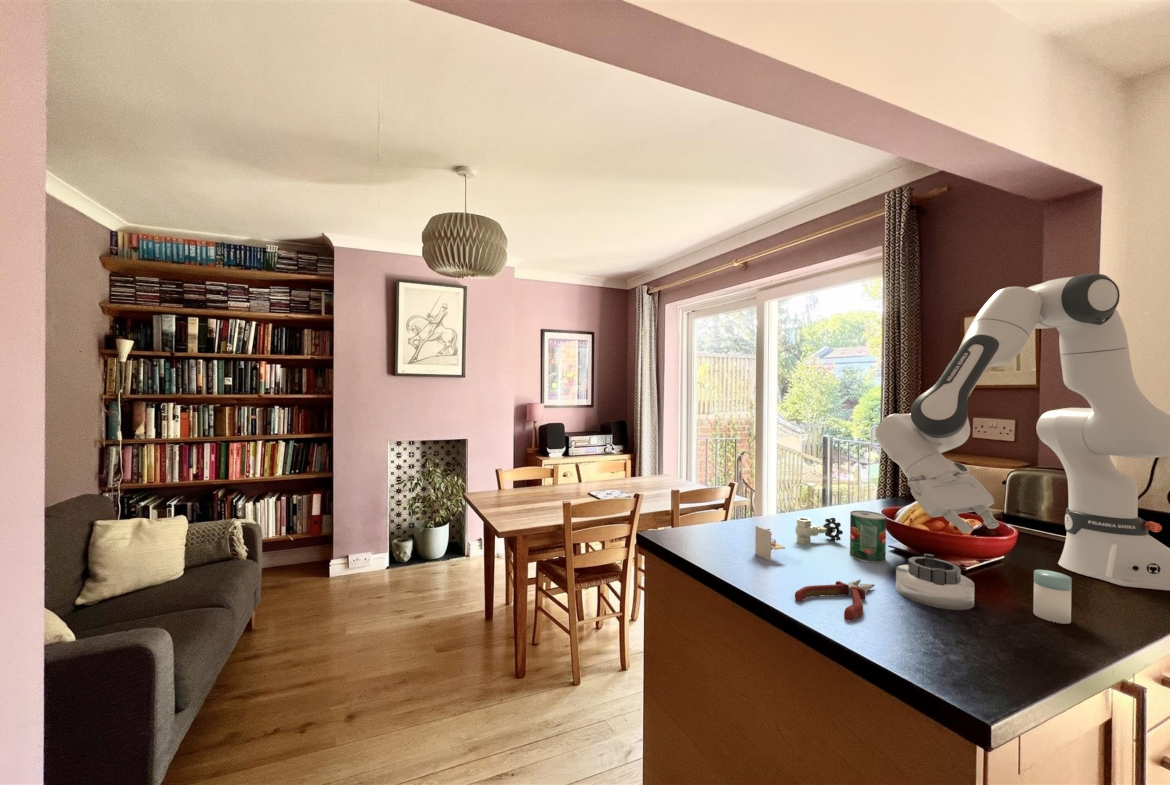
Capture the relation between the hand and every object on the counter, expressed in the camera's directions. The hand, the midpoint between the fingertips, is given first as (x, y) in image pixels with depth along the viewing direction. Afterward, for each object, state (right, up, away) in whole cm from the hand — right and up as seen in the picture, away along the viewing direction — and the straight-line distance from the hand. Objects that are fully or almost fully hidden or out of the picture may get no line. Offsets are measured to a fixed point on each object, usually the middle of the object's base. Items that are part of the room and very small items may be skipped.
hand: (982, 529), depth 98 cm
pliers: (-31, -14, -5) cm, 34 cm away
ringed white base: (-11, -13, 0) cm, 17 cm away
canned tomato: (-11, -13, +21) cm, 28 cm away
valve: (-19, -14, +33) cm, 40 cm away
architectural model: (-38, -13, +20) cm, 45 cm away
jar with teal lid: (+4, -14, -10) cm, 17 cm away
